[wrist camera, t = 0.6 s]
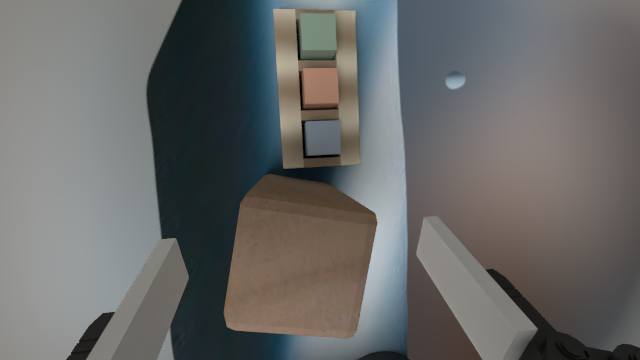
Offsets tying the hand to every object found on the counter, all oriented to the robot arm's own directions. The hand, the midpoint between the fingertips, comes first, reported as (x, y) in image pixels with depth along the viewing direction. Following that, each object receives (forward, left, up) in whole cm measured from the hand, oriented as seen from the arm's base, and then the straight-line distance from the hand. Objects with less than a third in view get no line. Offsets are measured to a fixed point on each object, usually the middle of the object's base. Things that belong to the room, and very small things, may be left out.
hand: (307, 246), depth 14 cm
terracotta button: (+13, -4, -21) cm, 25 cm away
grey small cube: (+7, -4, -21) cm, 23 cm away
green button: (+19, -4, -21) cm, 29 cm away
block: (-3, 0, -24) cm, 24 cm away
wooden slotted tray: (+13, -4, -24) cm, 27 cm away
